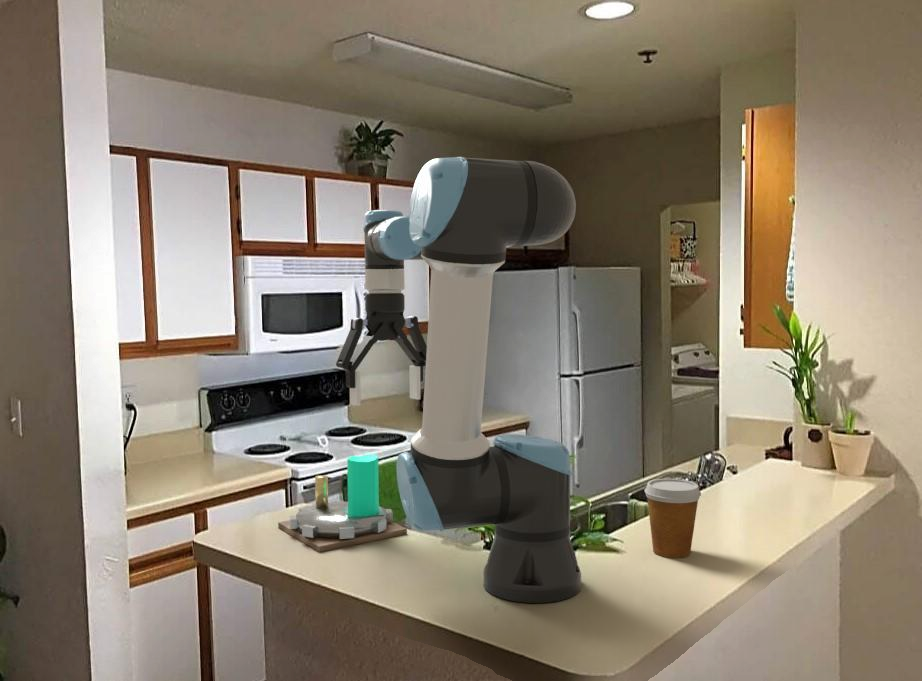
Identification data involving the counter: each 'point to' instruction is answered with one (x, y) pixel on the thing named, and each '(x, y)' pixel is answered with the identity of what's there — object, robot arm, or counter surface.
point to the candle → (363, 485)
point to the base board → (333, 543)
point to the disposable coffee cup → (672, 515)
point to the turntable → (336, 517)
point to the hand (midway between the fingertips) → (385, 402)
